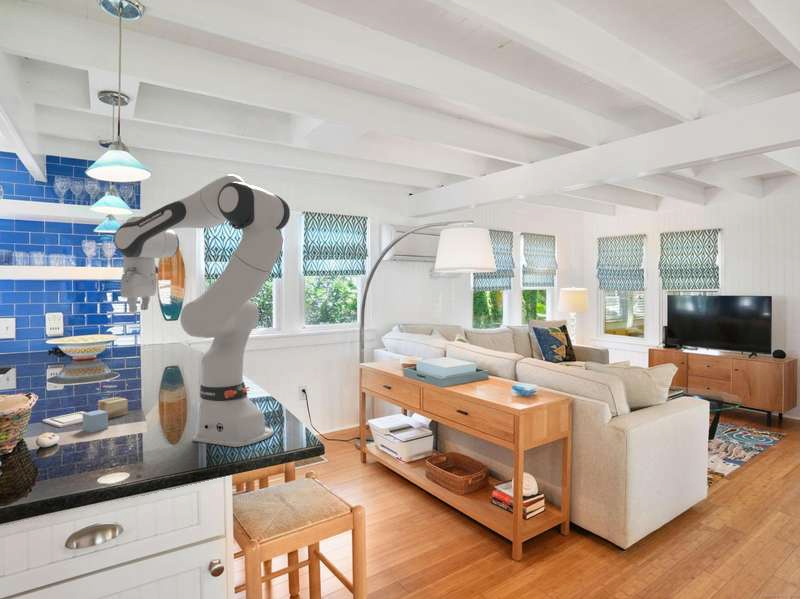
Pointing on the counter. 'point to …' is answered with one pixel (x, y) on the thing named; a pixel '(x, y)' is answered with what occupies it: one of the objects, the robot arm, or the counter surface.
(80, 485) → the counter surface
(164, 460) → the counter surface
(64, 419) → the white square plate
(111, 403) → the oak block
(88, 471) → the counter surface
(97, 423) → the blue cube
